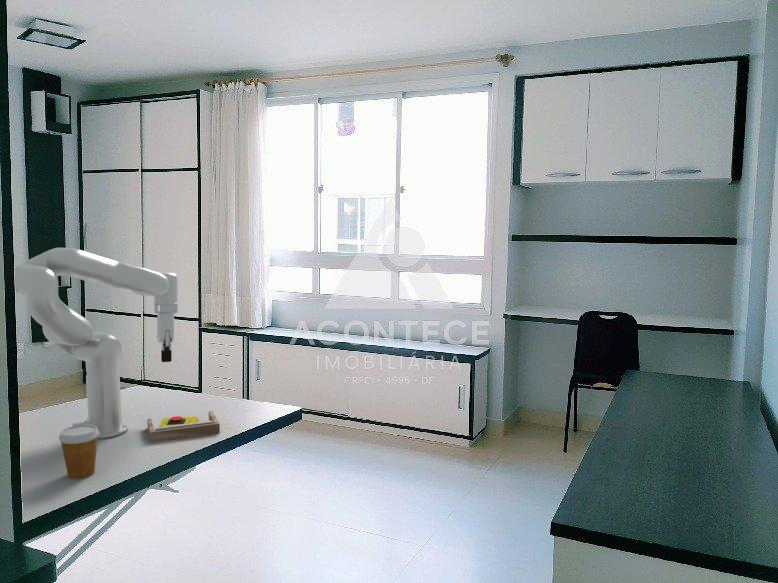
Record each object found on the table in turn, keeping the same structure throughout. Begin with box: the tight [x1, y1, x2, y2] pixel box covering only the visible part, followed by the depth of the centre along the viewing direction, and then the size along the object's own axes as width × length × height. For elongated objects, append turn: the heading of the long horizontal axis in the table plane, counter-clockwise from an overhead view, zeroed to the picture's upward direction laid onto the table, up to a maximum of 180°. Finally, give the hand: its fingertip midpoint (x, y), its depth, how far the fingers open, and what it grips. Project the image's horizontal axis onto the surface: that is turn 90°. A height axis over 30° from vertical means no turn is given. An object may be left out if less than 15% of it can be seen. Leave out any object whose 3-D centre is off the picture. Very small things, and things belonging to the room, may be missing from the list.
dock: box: [146, 411, 221, 443], centre depth 196 cm, size 14×20×3 cm
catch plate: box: [155, 420, 213, 431], centre depth 192 cm, size 1×17×3 cm, turn 115°
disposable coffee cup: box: [58, 425, 99, 480], centre depth 161 cm, size 10×10×12 cm
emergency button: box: [158, 415, 200, 427], centre depth 197 cm, size 9×4×15 cm
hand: (166, 361), depth 212 cm, fingers closed
